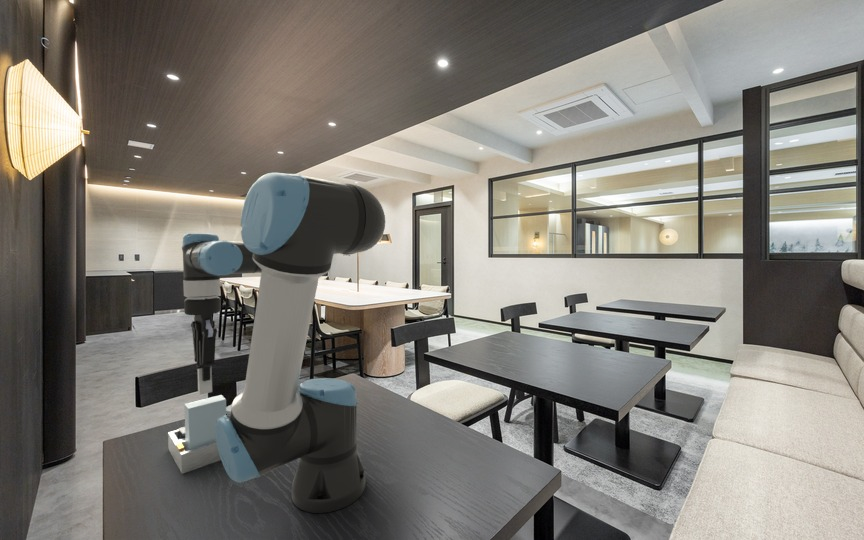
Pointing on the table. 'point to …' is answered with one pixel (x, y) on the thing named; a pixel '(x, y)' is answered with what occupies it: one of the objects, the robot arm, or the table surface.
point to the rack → (190, 452)
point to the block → (202, 420)
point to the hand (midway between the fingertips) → (205, 392)
